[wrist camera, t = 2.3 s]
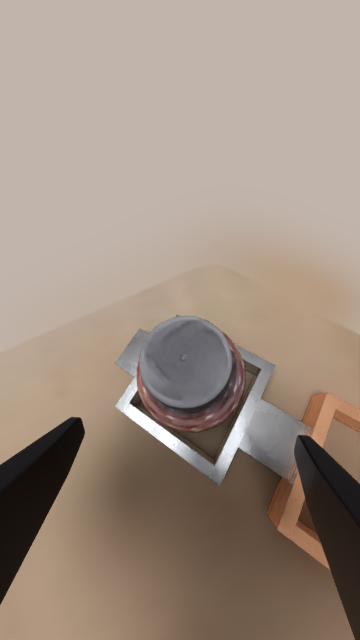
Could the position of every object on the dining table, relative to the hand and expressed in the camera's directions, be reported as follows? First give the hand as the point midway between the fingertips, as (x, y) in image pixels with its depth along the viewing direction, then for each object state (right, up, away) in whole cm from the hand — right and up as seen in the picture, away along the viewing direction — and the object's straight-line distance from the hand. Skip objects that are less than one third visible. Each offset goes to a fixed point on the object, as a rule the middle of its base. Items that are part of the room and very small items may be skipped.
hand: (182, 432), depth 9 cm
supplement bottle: (+1, -2, +10) cm, 11 cm away
